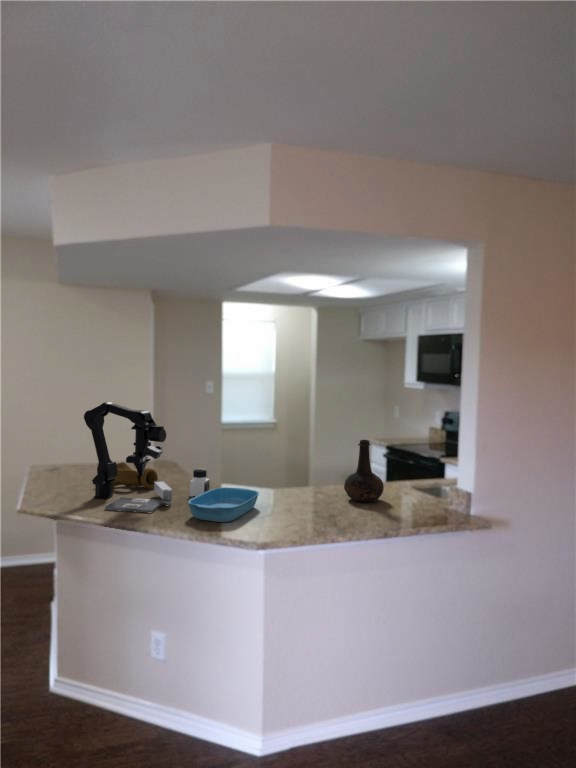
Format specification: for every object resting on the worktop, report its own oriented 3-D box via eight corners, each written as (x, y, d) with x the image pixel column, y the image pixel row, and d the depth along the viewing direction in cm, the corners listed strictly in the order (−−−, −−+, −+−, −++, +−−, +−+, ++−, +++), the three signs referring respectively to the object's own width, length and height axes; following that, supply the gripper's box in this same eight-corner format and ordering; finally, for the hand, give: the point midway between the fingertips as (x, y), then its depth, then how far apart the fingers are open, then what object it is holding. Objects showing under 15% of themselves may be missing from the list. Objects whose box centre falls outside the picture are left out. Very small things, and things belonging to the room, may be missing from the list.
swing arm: (173, 500, 235) (173, 490, 235) (163, 501, 233) (163, 491, 233) (162, 489, 252) (162, 480, 252) (153, 490, 251) (153, 481, 250)
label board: (104, 509, 226) (104, 504, 226) (121, 500, 242) (121, 495, 241) (159, 513, 223) (159, 508, 222) (173, 503, 238) (173, 498, 238)
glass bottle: (390, 500, 256) (392, 440, 254) (368, 507, 243) (371, 444, 241) (358, 493, 268) (360, 436, 266) (336, 499, 255) (338, 439, 253)
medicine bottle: (204, 497, 250) (204, 471, 250) (189, 496, 251) (189, 470, 251) (209, 493, 257) (209, 468, 257) (194, 492, 258) (195, 467, 258)
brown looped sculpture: (128, 465, 280) (160, 463, 269) (124, 491, 276) (157, 490, 266) (100, 459, 265) (133, 457, 254) (95, 486, 261) (129, 485, 250)
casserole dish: (218, 499, 249) (219, 483, 249) (265, 505, 242) (265, 488, 242) (178, 521, 214) (178, 503, 214) (231, 529, 207) (231, 510, 207)
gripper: (151, 444, 228) (150, 482, 229) (167, 438, 246) (166, 472, 247) (125, 443, 230) (124, 480, 230) (144, 436, 248) (143, 471, 249)
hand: (141, 475), depth 239 cm, fingers closed
